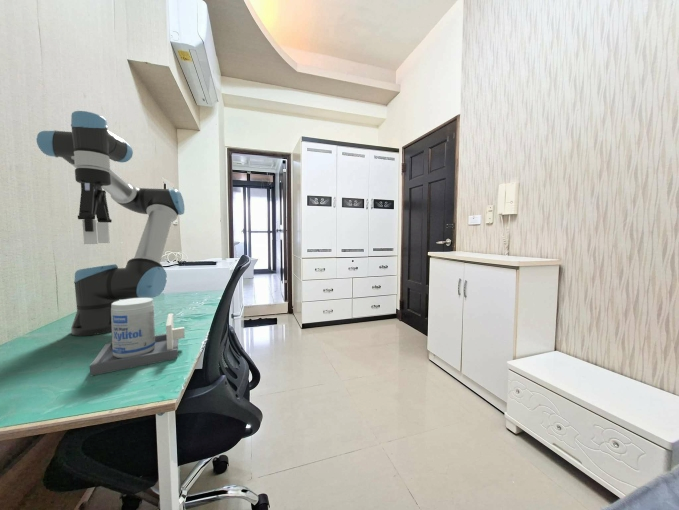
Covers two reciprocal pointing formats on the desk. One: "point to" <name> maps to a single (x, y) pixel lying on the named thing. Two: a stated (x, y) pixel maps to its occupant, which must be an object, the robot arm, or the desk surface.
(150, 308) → the supplement tub
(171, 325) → the pusher
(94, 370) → the gray tray
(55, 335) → the desk surface
